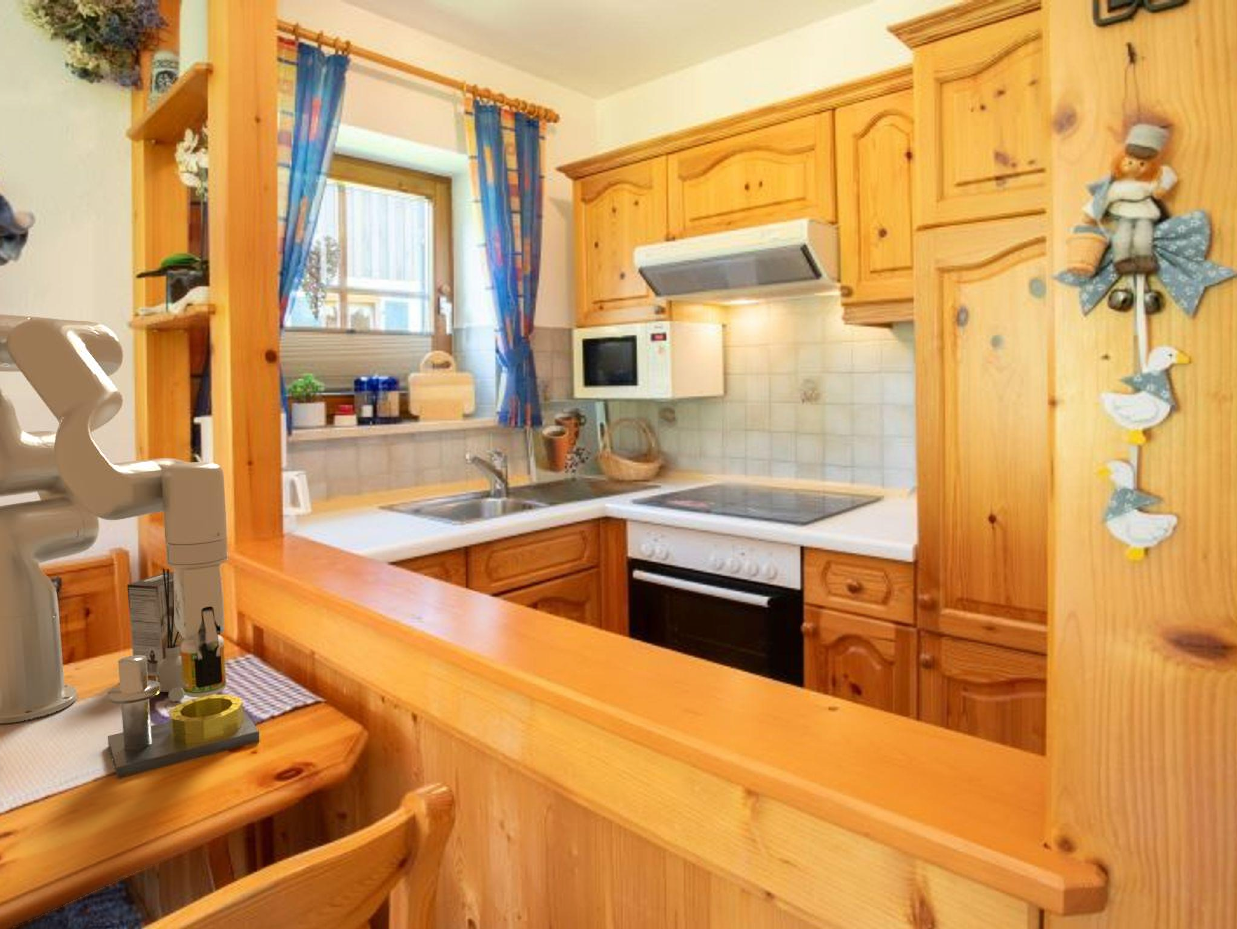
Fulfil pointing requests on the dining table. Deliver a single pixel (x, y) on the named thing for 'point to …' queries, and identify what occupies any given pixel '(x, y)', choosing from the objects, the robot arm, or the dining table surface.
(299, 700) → the dining table surface
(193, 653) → the supplement bottle
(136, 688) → the grey peg stand
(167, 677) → the reed diffuser
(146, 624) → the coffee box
